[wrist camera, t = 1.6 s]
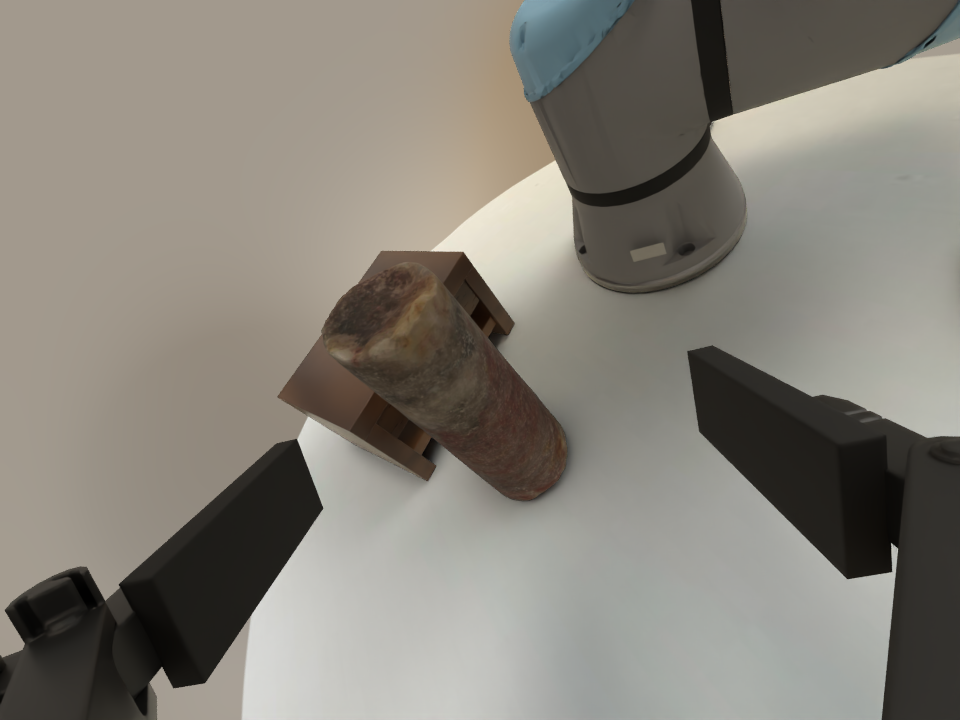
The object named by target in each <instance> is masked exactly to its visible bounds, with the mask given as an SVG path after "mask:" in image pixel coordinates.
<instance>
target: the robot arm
mask: <svg viewBox="0 0 960 720" xmlns="http://www.w3.org/2000/svg"><path fill="white" fill-rule="evenodd" d="M720 1H721V3H720ZM721 10H722V12H721ZM722 19H723V20H722ZM723 28H724V29H723ZM724 37H725V39H724ZM958 38H960V0H524V2H523V3H522V5H521V6H520V8H519V10H518V12H517V14H516V16H515V18H514V21H513V23H512V27H511V31H510V50H511V53H512V56H513V59H514V62H515V64H516V67H517V70H518V72H519V75H520V77H521V80H522V83H523V85H524V95H525V97H526V99H527V100H528V102H530V104H531V106H532V108H533V110H534V113H535V115H536V117H537V119H538V122H539V124H540V126H541V128H542V131H543V133H544V135H545V137H546V139H547V142H548V144H549V146H550V148H551V151H552V153H553V155H554V157H555V159H556V162H557V164H558V166H559V168H560V171H561V173H562V175H563V177H564V179H565V181H566V184H567V186H568V188H569V190H570V193H571V195H572V203H573V226H574V244H575V249H576V252H577V256H578V259H579V261H580V263H581V265H582V267H583V269H584V271H585V273H586V274H587V275H588V276H589V277H590V278H591V279H592V280H593V281H594V282H596V283H597V284H599V285H601V286H603V287H605V288H608V289H611V290H615V291H620V292H633V293H637V292H650V291H656V290H661V289H665V288H669V287H672V286H675V285H678V284H681V283H684V282H686V281H688V280H691V279H693V278H695V277H697V276H699V275H700V274H702V273H704V272H705V271H707V270H708V269H710V268H711V267H713V266H714V265H716V264H717V263H718V262H719V261H721V260H722V259H723V258H724V257H725V256H726V255H727V254H728V253H729V252H730V251H731V250H732V249H733V247H734V246H735V245H736V243H737V242H738V240H739V238H740V237H741V235H742V233H743V231H744V228H745V225H746V219H747V208H746V199H745V194H744V191H743V188H742V185H741V183H740V181H739V179H738V177H737V176H736V175H735V173H734V171H733V170H732V168H731V167H730V165H729V164H728V162H727V161H726V159H725V157H724V156H723V154H722V153H721V151H720V150H719V148H718V147H717V145H716V144H715V142H714V141H713V139H712V137H711V132H710V125H711V123H712V121H715V120H718V119H721V118H724V117H727V116H730V115H733V114H736V113H740V112H743V111H746V110H749V109H752V108H755V107H759V106H762V105H765V104H768V103H771V102H775V101H778V100H781V99H784V98H787V97H790V96H794V95H797V94H800V93H803V92H806V91H810V90H813V89H816V88H819V87H822V86H826V85H829V84H832V83H835V82H838V81H841V80H845V79H848V78H851V77H854V76H857V75H861V74H864V73H867V72H870V71H873V70H876V69H883V68H888V67H892V66H893V65H896V64H900V63H902V62H904V61H906V60H908V59H910V58H912V57H913V56H915V55H916V54H919V53H921V52H924V51H927V50H929V49H932V48H934V47H937V46H940V45H942V44H945V43H948V42H950V41H953V40H956V39H958ZM726 55H727V57H726ZM727 64H728V66H727ZM728 72H729V74H728ZM729 81H730V85H729ZM730 90H731V93H730ZM731 99H732V100H731ZM732 107H733V108H732ZM687 353H688V359H689V366H690V373H691V379H692V386H693V393H694V400H695V406H696V413H697V420H698V426H699V432H700V433H701V434H702V435H703V436H704V437H705V438H706V439H707V440H708V441H709V442H710V443H711V444H712V445H713V446H714V447H715V448H716V449H717V450H718V451H719V452H720V453H721V454H722V455H723V456H724V457H725V458H726V459H727V460H728V461H729V462H730V463H731V464H732V465H733V466H734V467H735V468H736V469H737V470H738V471H739V472H740V473H741V474H742V475H743V476H744V477H745V478H746V479H747V480H748V481H749V482H750V483H751V484H752V485H753V486H754V487H755V488H756V489H757V490H758V491H759V492H760V493H761V494H762V495H763V496H764V497H765V498H766V499H767V500H768V501H769V502H770V503H771V504H772V505H773V506H774V507H775V508H776V509H777V510H778V511H779V512H780V513H781V514H782V515H783V516H784V517H785V518H786V519H787V520H788V521H790V522H791V523H792V524H793V525H794V526H795V527H796V528H797V529H798V530H799V531H800V532H801V533H802V534H803V535H804V536H805V537H806V538H807V539H808V540H809V541H810V542H811V543H812V544H813V545H814V546H815V547H816V548H817V549H818V550H819V551H820V552H821V553H822V554H823V555H824V556H825V557H826V558H827V559H828V560H829V561H830V562H831V563H832V564H833V565H834V566H835V567H836V568H837V569H838V570H839V571H840V572H841V573H842V574H843V575H844V576H845V577H846V578H847V579H852V578H858V577H864V576H871V575H877V574H883V573H889V572H892V557H891V543H892V544H893V545H894V546H896V547H897V548H898V557H897V568H896V578H895V588H894V599H893V609H892V619H891V630H890V640H889V650H888V661H887V671H886V681H885V692H884V702H883V712H882V720H960V437H949V436H940V437H933V438H926V437H924V436H922V435H920V434H918V433H915V432H913V431H911V430H909V429H907V428H905V427H903V426H901V425H899V424H896V423H894V422H892V421H890V420H888V419H886V418H885V419H882V417H881V416H880V415H877V414H875V413H873V412H871V411H866V409H865V408H863V407H860V406H858V405H856V404H854V403H852V402H850V401H848V400H844V399H839V398H835V397H830V396H826V395H819V396H815V397H811V396H809V395H808V394H806V393H804V392H802V391H800V390H798V389H796V388H794V387H792V386H790V385H788V384H786V383H784V382H782V381H780V380H778V379H777V378H775V377H773V376H771V375H769V374H767V373H765V372H763V371H761V370H759V369H757V368H755V367H753V366H751V365H749V364H747V363H746V362H744V361H742V360H740V359H738V358H736V357H734V356H732V355H730V354H728V353H726V352H724V351H722V350H720V349H718V348H716V347H715V346H708V347H704V348H699V349H695V350H690V351H687ZM322 510H323V506H322V504H321V501H320V498H319V496H318V493H317V490H316V488H315V485H314V483H313V480H312V477H311V475H310V472H309V469H308V467H307V464H306V462H305V459H304V456H303V454H302V451H301V449H300V446H299V443H298V441H297V439H295V440H290V441H285V442H281V443H277V444H275V445H274V446H273V447H272V448H271V449H270V450H269V451H268V452H266V453H265V454H264V455H263V456H262V457H261V458H260V459H259V460H257V461H256V462H255V463H254V464H253V465H252V466H251V467H250V468H249V469H247V470H246V471H245V472H244V473H243V474H242V475H241V476H239V477H238V478H237V479H236V480H235V481H234V482H233V483H232V484H230V485H229V486H228V487H227V488H226V489H225V490H224V491H223V492H222V493H220V494H219V495H218V496H217V497H216V498H215V499H214V500H213V501H212V502H210V503H209V504H208V505H207V506H206V507H205V508H204V509H202V510H201V511H200V512H199V513H198V514H197V515H196V516H195V517H194V518H192V519H191V520H190V521H189V522H188V523H187V524H186V525H185V526H183V527H182V528H181V529H180V530H179V531H178V532H177V533H176V534H175V535H173V536H172V537H171V538H170V539H169V540H168V541H167V542H166V543H164V544H163V545H162V546H161V547H160V548H159V549H158V550H157V551H155V552H154V553H153V554H152V555H151V556H150V557H149V558H148V559H147V560H146V561H144V562H143V563H142V564H141V565H140V566H139V567H138V568H136V569H135V570H134V571H133V572H132V573H131V574H130V575H129V576H128V577H126V578H125V579H124V580H123V581H122V582H121V583H120V584H119V586H120V588H119V589H118V590H117V591H116V592H115V593H114V594H113V595H111V596H110V597H109V598H108V599H107V600H106V601H105V600H104V598H103V596H102V594H101V592H100V591H99V589H98V587H97V585H96V583H95V581H94V580H93V578H92V576H91V574H90V572H89V570H88V568H87V567H77V568H73V569H69V570H66V571H64V572H61V573H59V574H57V575H54V576H52V577H50V578H48V579H46V580H44V581H43V582H40V583H39V584H37V585H35V586H34V587H32V588H31V589H29V590H27V591H26V592H24V593H23V594H21V595H20V596H19V597H18V598H16V599H15V600H14V601H12V602H11V603H10V605H9V606H8V607H7V608H6V609H5V612H6V613H7V615H8V617H9V618H10V620H11V622H12V623H13V625H14V627H15V628H16V630H17V631H18V633H19V635H20V636H21V638H22V640H23V641H24V643H25V645H24V648H23V650H21V651H19V652H16V653H14V654H11V655H9V656H6V657H3V658H2V657H1V656H0V720H157V696H156V695H155V692H154V690H153V688H152V686H151V685H150V683H149V682H150V681H151V680H152V678H153V677H154V676H155V675H156V673H157V672H158V671H159V669H160V668H161V667H163V669H164V671H165V673H166V675H167V677H168V679H169V681H170V683H171V684H172V686H173V688H179V687H185V686H191V685H197V684H203V683H205V682H206V681H207V679H208V678H209V677H210V675H211V674H212V672H213V671H214V669H215V668H216V666H217V665H218V663H219V662H220V660H221V659H222V657H223V656H224V654H225V653H226V651H227V650H228V648H229V647H230V646H231V644H232V643H233V641H234V640H235V638H236V637H237V635H238V634H239V632H240V631H241V629H242V628H243V626H244V625H245V623H246V622H247V620H248V619H249V617H250V616H251V615H252V613H253V612H254V610H255V609H256V607H257V606H258V604H259V603H260V601H261V600H262V598H263V597H264V595H265V594H266V592H267V591H268V589H269V588H270V586H271V585H272V583H273V582H274V581H275V579H276V578H277V576H278V575H279V573H280V572H281V570H282V569H283V567H284V566H285V564H286V563H287V561H288V560H289V558H290V557H291V555H292V554H293V552H294V551H295V550H296V548H297V547H298V545H299V544H300V542H301V541H302V539H303V538H304V536H305V535H306V533H307V532H308V530H309V529H310V527H311V526H312V524H313V523H314V521H315V520H316V518H317V517H318V516H319V514H320V513H321V511H322Z"/></svg>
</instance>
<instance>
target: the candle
mask: <svg viewBox="0 0 960 720" xmlns="http://www.w3.org/2000/svg"><path fill="white" fill-rule="evenodd" d="M322 336H323V344H324V347H325V349H326V351H327V353H328V354H329V355H330V356H331V357H333V358H334V359H335V360H336V361H337V362H338V363H339V364H341V365H342V366H343V367H344V368H345V369H347V370H348V371H349V372H351V373H352V374H353V375H354V376H355V377H356V378H358V379H359V380H360V381H361V382H363V383H364V384H365V385H366V386H368V387H369V388H370V389H372V390H373V391H374V392H375V393H377V394H378V395H379V396H380V397H382V398H383V399H384V400H385V401H387V402H388V403H390V404H391V405H392V406H394V407H395V408H396V409H398V410H399V411H400V412H401V413H402V414H403V415H404V416H406V417H407V418H408V419H409V420H411V421H412V422H413V423H414V424H416V425H417V426H418V427H420V428H421V429H422V430H424V431H425V432H426V433H427V434H428V435H429V436H431V437H432V438H433V439H435V440H436V441H437V442H438V443H440V444H441V445H442V446H443V447H444V448H446V449H447V450H448V451H449V452H451V453H452V454H453V455H454V456H455V457H457V458H458V459H459V460H460V461H462V462H463V463H464V464H465V465H467V466H468V467H469V468H470V469H471V470H472V471H474V472H475V473H476V474H477V475H479V476H480V477H481V478H482V479H484V480H485V481H486V482H488V483H489V484H490V485H491V486H493V487H494V488H495V489H496V490H498V491H499V492H500V493H502V494H503V495H504V496H506V497H508V498H510V499H516V500H521V501H525V500H532V499H534V498H536V497H537V496H538V495H539V494H541V493H543V492H544V491H546V490H547V489H548V488H549V487H551V486H552V485H553V484H555V483H556V482H557V481H558V480H559V478H560V476H561V473H562V472H563V470H564V469H565V466H566V458H567V444H566V439H565V435H564V431H563V429H562V427H561V425H560V424H559V422H558V421H557V420H556V419H555V417H554V416H553V415H552V414H551V413H550V412H549V410H548V409H547V408H546V407H545V406H544V404H543V403H542V402H541V401H540V399H539V398H538V397H537V395H536V394H535V393H534V392H533V391H532V390H531V388H530V387H529V386H528V385H527V384H526V383H525V382H524V381H523V379H522V378H521V377H520V376H519V375H518V374H517V372H516V371H515V370H514V369H513V368H512V366H511V365H510V364H509V363H508V362H507V360H506V359H505V358H504V357H503V356H502V354H501V353H500V352H499V351H498V350H497V349H496V347H495V346H494V345H493V343H492V342H491V341H490V340H489V339H488V337H487V336H486V335H485V334H484V333H483V331H482V330H481V329H480V328H479V327H478V326H477V324H476V323H475V322H474V321H473V319H472V318H471V317H470V316H469V315H468V313H467V312H466V311H465V310H464V309H463V307H462V306H461V305H460V304H459V303H458V301H457V300H456V299H455V298H454V297H453V295H452V294H451V293H450V292H449V290H448V289H447V288H446V287H445V286H444V284H443V283H442V282H441V281H440V280H439V279H438V277H437V276H436V275H435V274H434V273H433V272H431V271H430V270H429V269H428V268H426V267H424V266H422V265H421V264H419V263H413V262H403V263H401V264H398V265H395V266H392V267H390V268H389V269H385V270H383V271H381V272H379V273H377V274H375V275H373V276H372V277H370V278H369V279H367V280H365V281H363V282H362V283H360V284H358V285H356V286H354V287H352V288H351V289H350V290H349V291H348V292H347V293H346V294H345V295H343V296H342V297H341V298H340V300H339V301H338V302H337V304H336V306H335V307H334V309H333V310H332V311H331V313H330V315H329V317H328V319H327V320H326V322H325V324H324V327H323V328H322Z"/></svg>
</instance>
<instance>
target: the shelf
mask: <svg viewBox="0 0 960 720" xmlns="http://www.w3.org/2000/svg"><path fill="white" fill-rule="evenodd" d="M403 262H413V263H419V264H421V265H422V266H424V267H426V268H428V269H429V270H430V271H431V272H433V273H434V274H435V275H436V276H437V277H438V279H439V280H440V281H441V282H442V283H443V284H444V286H445V287H446V288H447V289H448V290H449V292H450V293H451V294H452V295H453V297H454V298H455V299H456V300H457V301H458V303H459V304H460V305H461V306H462V307H463V309H464V310H465V311H466V312H467V313H468V315H469V316H470V317H471V318H472V319H473V321H474V322H475V323H476V324H477V326H478V327H479V328H480V329H481V330H482V331H483V333H484V334H485V335H486V336H487V337H489V335H490V333H491V332H492V333H498V334H504V335H508V334H509V333H510V331H511V329H512V327H513V325H514V321H513V320H512V319H511V317H510V316H509V315H508V313H507V312H506V310H505V309H504V308H503V306H502V305H501V303H500V302H499V301H498V299H497V298H496V297H495V295H494V294H493V292H492V291H491V290H490V288H489V287H488V286H487V284H486V283H485V281H484V280H483V279H482V277H481V276H480V274H479V273H478V272H477V270H476V269H475V268H474V266H473V265H472V263H471V262H470V261H469V259H468V258H467V256H466V255H465V254H464V252H427V251H423V252H422V251H421V252H420V251H381V252H380V254H379V255H378V256H377V258H376V259H375V261H374V262H373V264H372V265H371V266H370V268H369V269H368V271H367V272H366V273H365V275H364V276H363V277H362V279H361V280H360V282H359V283H358V284H360V283H362V282H363V281H365V280H367V279H369V278H370V277H372V276H373V275H375V274H377V273H379V272H381V271H383V270H385V269H389V268H390V267H392V266H395V265H398V264H401V263H403ZM358 284H357V285H358ZM278 398H279V399H281V400H283V401H284V402H286V403H288V404H289V405H291V406H293V407H294V408H296V409H297V410H299V411H301V412H302V413H304V414H306V415H307V416H309V417H310V418H312V419H314V420H315V421H317V422H319V423H320V424H322V425H323V426H325V427H327V428H328V429H330V430H332V431H333V432H335V433H336V434H338V435H340V436H341V437H343V438H345V439H346V440H348V441H349V442H351V443H353V444H354V445H356V446H358V447H360V448H362V449H364V450H366V451H368V452H370V453H372V454H374V455H376V456H378V457H380V458H382V459H384V460H386V461H388V462H390V463H392V464H394V465H396V466H398V467H400V468H402V469H404V470H406V471H408V472H410V473H412V474H414V475H416V476H418V477H420V478H422V479H424V480H426V481H428V480H429V478H430V476H431V475H432V473H433V471H434V469H435V467H436V465H435V464H433V463H432V462H430V461H429V460H428V459H426V458H425V457H423V456H422V453H423V452H424V450H425V448H426V446H427V444H428V443H429V441H430V439H431V436H429V435H428V434H427V433H426V432H425V431H424V430H422V429H421V428H420V427H418V426H417V425H416V424H414V423H413V422H412V421H411V420H409V419H408V418H407V417H406V416H404V415H403V414H402V413H401V412H400V411H399V410H398V409H396V408H395V407H394V406H392V405H391V404H390V403H388V402H387V401H385V400H384V399H383V398H382V397H380V396H379V395H378V394H377V393H375V392H374V391H373V390H372V389H370V388H369V387H368V386H366V385H365V384H364V383H363V382H361V381H360V380H359V379H358V378H356V377H355V376H354V375H353V374H352V373H351V372H349V371H348V370H347V369H345V368H344V367H343V366H342V365H341V364H339V363H338V362H337V361H336V360H335V359H334V358H333V357H331V356H330V355H329V354H328V353H327V351H326V349H325V347H324V344H323V336H322V335H321V336H320V338H319V339H318V340H317V342H316V343H315V345H314V346H313V347H312V349H311V350H310V352H309V353H308V354H307V356H306V357H305V359H304V360H303V361H302V363H301V364H300V366H299V367H298V368H297V370H296V371H295V373H294V374H293V375H292V377H291V378H290V380H289V381H288V382H287V384H286V385H285V387H284V388H283V390H282V391H281V392H280V394H279V395H278Z"/></svg>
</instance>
